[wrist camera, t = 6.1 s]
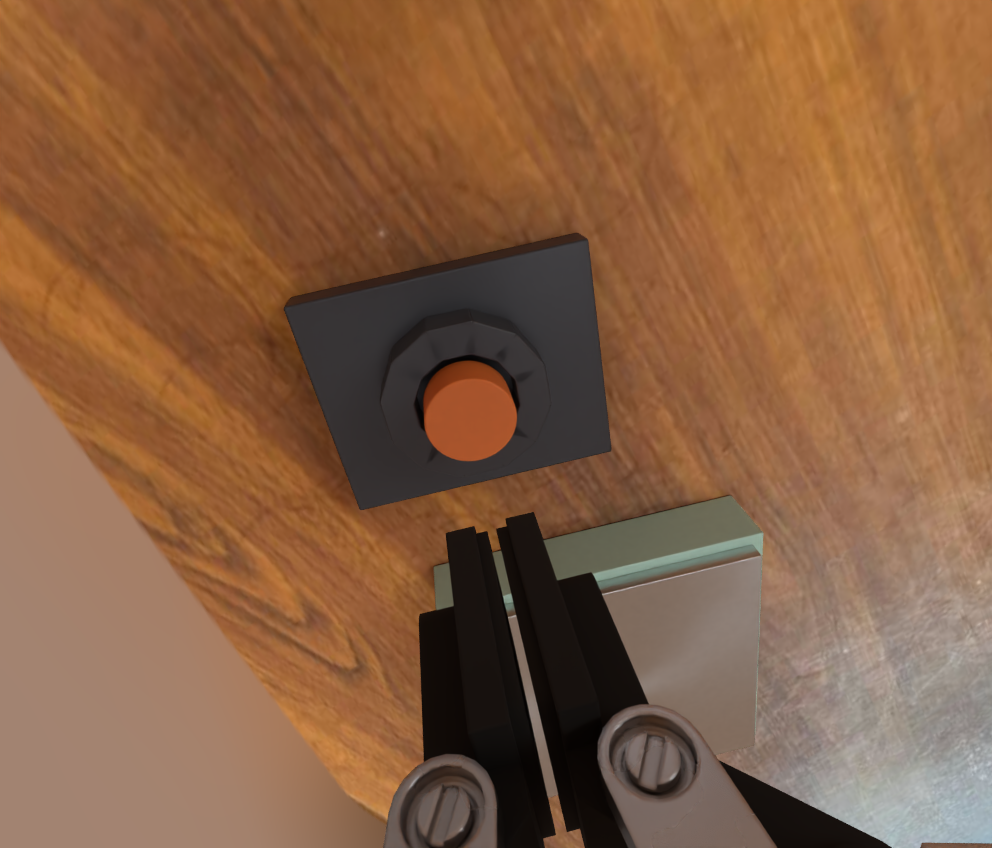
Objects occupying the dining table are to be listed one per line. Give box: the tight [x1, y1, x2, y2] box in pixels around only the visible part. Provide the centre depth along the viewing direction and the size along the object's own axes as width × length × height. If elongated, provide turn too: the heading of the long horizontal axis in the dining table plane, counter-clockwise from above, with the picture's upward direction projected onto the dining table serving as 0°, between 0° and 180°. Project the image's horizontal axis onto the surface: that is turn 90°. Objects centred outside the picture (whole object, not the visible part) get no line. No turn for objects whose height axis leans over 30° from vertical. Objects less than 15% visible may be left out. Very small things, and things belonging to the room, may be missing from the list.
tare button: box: [423, 361, 517, 461], centre depth 21 cm, size 3×3×2 cm
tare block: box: [284, 233, 611, 510], centre depth 22 cm, size 11×9×3 cm
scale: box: [434, 495, 763, 797], centre depth 30 cm, size 15×15×4 cm
